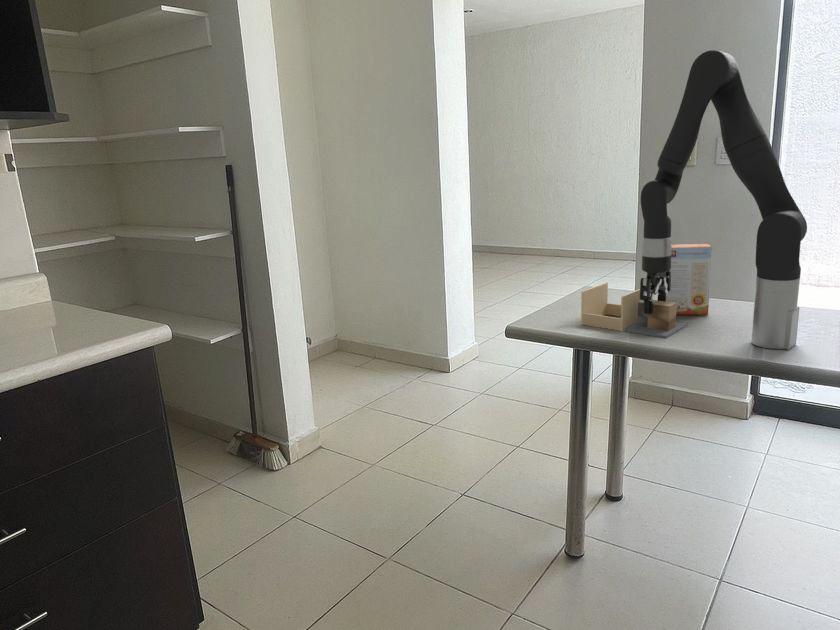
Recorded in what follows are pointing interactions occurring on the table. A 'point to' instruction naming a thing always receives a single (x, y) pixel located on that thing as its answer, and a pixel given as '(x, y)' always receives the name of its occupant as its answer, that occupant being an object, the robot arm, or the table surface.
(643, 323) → the box
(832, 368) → the table surface
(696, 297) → the cracker box
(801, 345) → the table surface
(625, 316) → the open wooden box
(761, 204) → the robot arm
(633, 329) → the rubber mat
